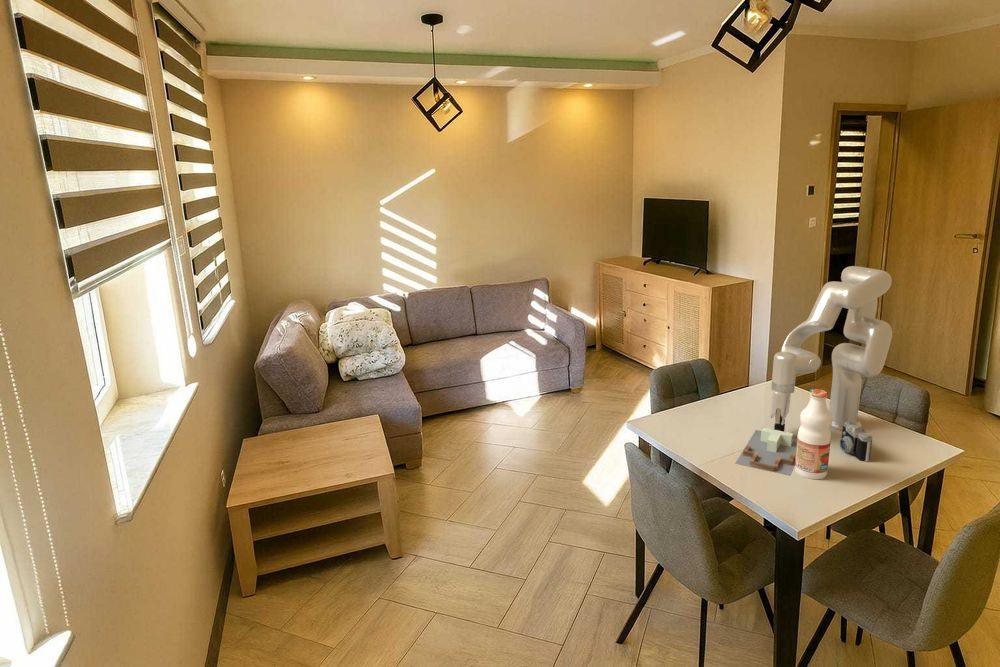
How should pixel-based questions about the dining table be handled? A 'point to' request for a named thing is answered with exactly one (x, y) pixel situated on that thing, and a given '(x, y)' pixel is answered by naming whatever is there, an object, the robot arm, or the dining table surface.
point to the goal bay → (766, 466)
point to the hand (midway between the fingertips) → (778, 433)
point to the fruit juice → (814, 438)
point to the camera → (856, 441)
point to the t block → (776, 438)
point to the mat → (769, 454)
